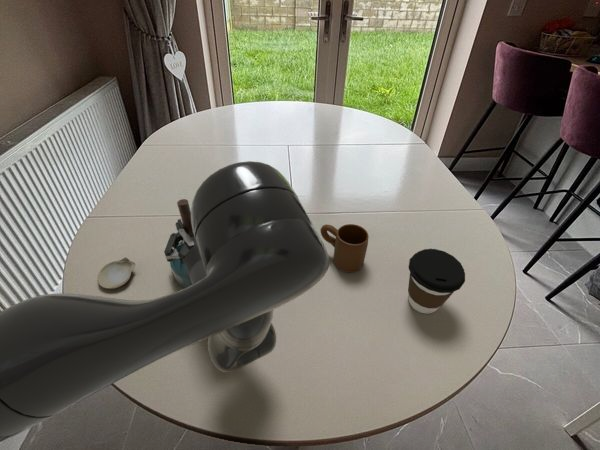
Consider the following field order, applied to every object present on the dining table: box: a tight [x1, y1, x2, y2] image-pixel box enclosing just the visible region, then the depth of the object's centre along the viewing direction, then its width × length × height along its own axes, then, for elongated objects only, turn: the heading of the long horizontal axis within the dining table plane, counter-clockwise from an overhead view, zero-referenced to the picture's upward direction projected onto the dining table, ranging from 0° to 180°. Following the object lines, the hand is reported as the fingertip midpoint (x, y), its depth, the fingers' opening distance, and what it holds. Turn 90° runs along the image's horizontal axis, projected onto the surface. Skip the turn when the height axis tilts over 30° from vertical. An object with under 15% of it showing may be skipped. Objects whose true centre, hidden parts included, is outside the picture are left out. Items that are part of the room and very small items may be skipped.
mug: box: [320, 223, 370, 273], centre depth 81 cm, size 12×8×9 cm, turn 59°
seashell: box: [97, 256, 136, 290], centre depth 77 cm, size 8×3×8 cm
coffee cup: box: [407, 248, 466, 315], centre depth 70 cm, size 11×11×12 cm
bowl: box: [169, 241, 192, 289], centre depth 79 cm, size 16×16×4 cm
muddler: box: [176, 198, 194, 238], centre depth 73 cm, size 4×4×16 cm
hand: (185, 220), depth 75 cm, fingers closed on muddler, 2 cm apart
